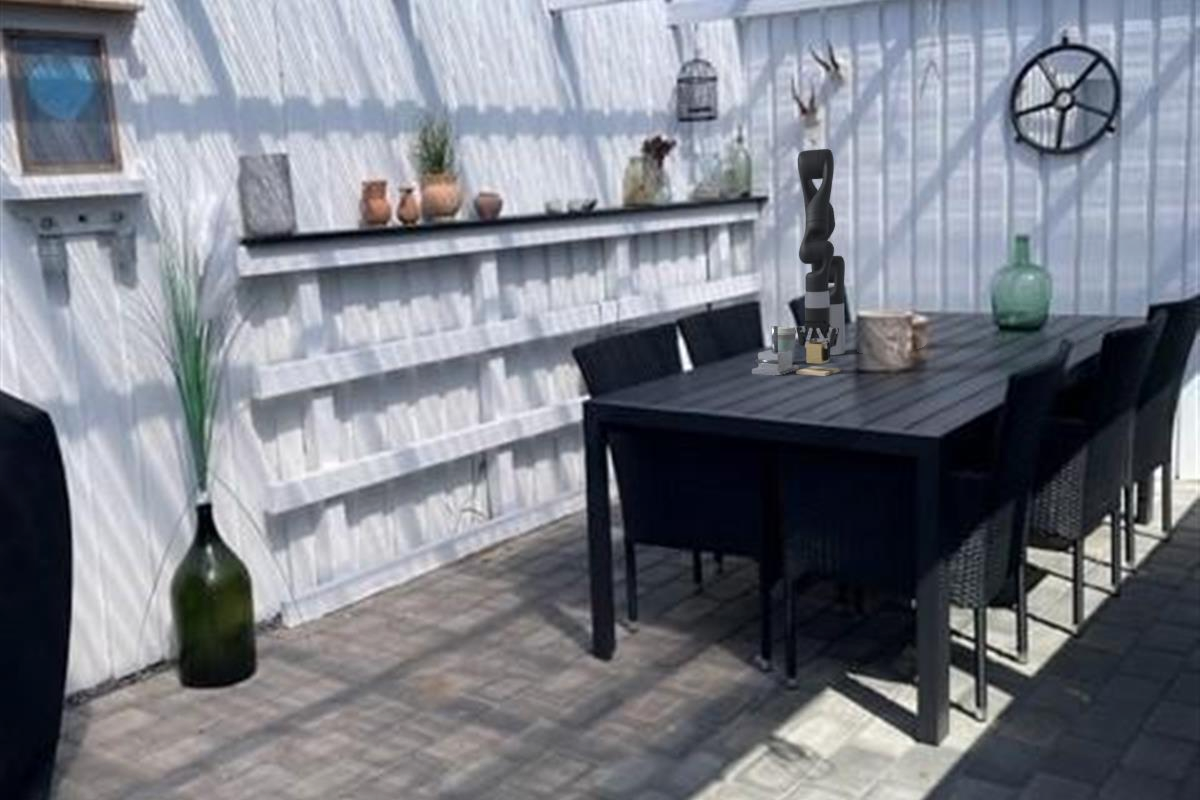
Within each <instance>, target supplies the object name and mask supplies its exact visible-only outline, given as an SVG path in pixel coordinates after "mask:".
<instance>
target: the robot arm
mask: <svg viewBox="0 0 1200 800" xmlns="http://www.w3.org/2000/svg"><path fill="white" fill-rule="evenodd" d="M797 169H798V170H797V171H798V174H799V175H798V176H799V179H800V184H801V189H802V195H803V203H804V214H805V223H804V225H805V229H804V235H803V238H802V240H801V243H800V247H799V250H798V258H799V260H800V261H801V263H802V264H804V265H810V266H811V271H810V272H808V273H806V275H805V283H804V284H805V294H804V296H805V297H804V320H805V324H804V325H800V326H797V327H795V329H796V332H797V333H796V335H797V338H798V343H799V346H802V347H803V348H805V349H806V344H807V343H811V342H815V339H816V342H822V343H823V346H824V348H825V349H824V361H827V360H829V361H830V358H831V356H835V355H844V354H845V353H846V325H845V275H846V262H845V259H844V256H842V255H834V254H835V247H834V245H833V243H832V242H831V241H829V239H830V238H831V236H832V235H833V233H834V231H835V227H836V217H835V209H834V207H833V205H832V203H831V201H830V200H831V196H832V195H831V194H832V190H833V189H832V187H833V180H834V172H835V171H834V170H835V161H834V153H833V152H832V150H831V149H830V148H820V149H809V150H803V151H800V152H799V154H798V156H797ZM814 180H821V184H820V187H818V188H817V187H816V185H815V183H814ZM829 284H834V286H833V287H832V288H831V289H829ZM806 332H807V333H806ZM806 334H807V336H806Z"/></svg>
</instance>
